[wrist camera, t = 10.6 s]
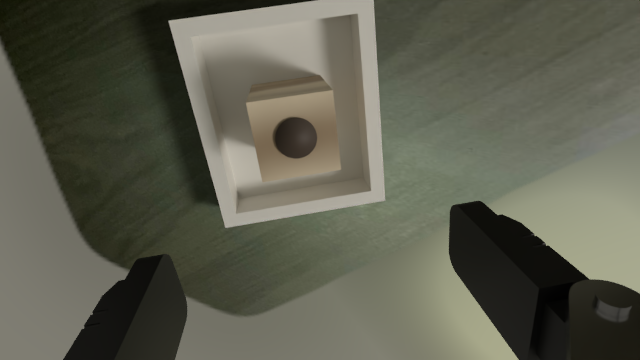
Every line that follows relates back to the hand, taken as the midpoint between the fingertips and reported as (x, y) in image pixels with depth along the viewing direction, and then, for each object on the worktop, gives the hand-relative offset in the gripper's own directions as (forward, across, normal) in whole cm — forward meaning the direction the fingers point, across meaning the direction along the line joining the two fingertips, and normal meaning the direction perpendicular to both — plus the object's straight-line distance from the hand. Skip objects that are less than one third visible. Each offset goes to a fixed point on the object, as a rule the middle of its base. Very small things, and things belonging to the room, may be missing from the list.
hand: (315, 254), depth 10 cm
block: (+17, 0, 0) cm, 17 cm away
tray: (+18, 0, 0) cm, 18 cm away
